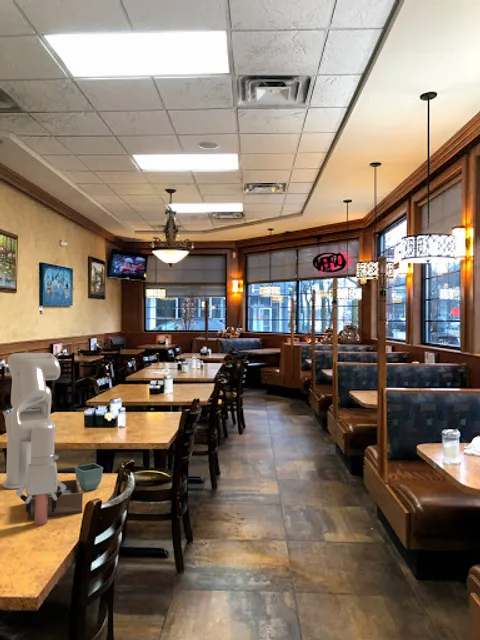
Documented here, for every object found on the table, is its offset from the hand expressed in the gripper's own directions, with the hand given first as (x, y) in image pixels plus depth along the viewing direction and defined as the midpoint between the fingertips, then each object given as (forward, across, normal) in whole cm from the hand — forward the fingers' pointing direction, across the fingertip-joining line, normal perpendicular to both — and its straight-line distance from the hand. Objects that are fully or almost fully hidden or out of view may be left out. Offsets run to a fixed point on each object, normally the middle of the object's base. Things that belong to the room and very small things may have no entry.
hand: (41, 512), depth 167 cm
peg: (+4, 0, 0) cm, 4 cm away
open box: (+4, -5, -14) cm, 15 cm away
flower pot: (+4, -19, -32) cm, 37 cm away
